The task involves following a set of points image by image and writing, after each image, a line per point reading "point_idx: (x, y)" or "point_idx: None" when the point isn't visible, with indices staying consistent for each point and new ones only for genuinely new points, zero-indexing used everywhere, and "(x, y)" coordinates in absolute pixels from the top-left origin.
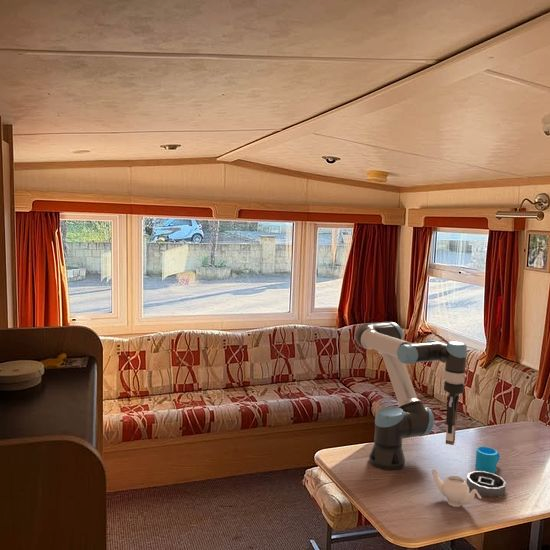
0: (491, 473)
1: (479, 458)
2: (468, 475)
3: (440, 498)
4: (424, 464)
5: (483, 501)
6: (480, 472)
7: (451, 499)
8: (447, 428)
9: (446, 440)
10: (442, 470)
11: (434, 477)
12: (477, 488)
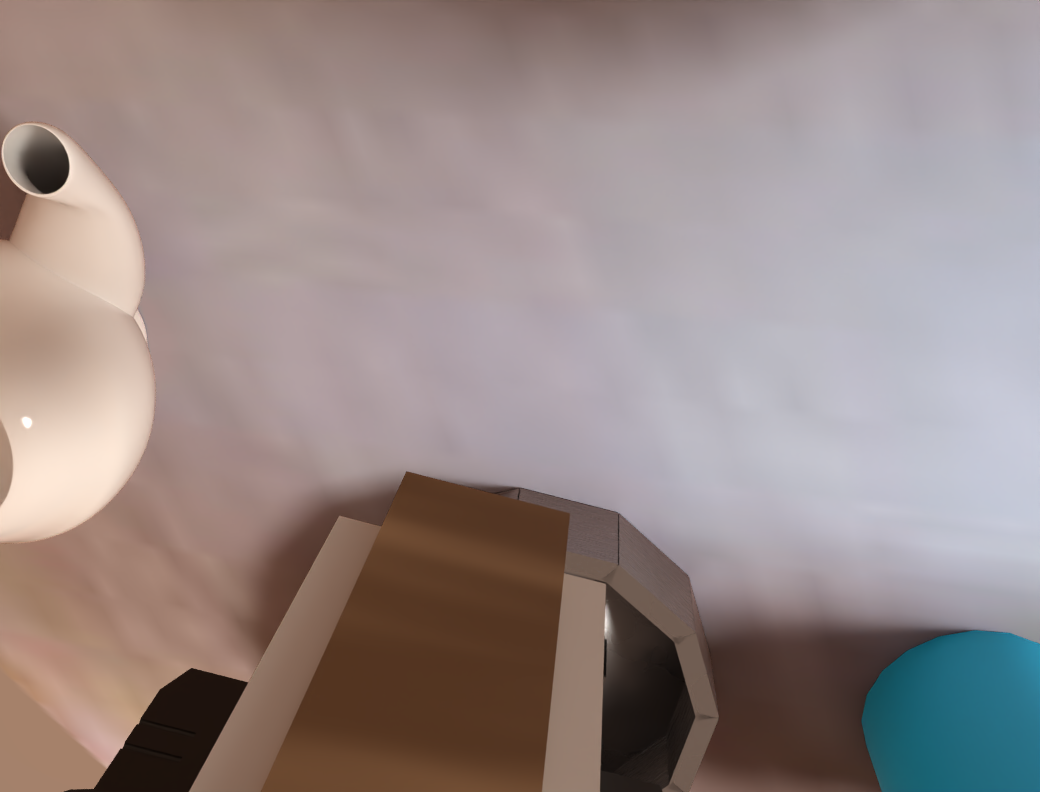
0: (681, 777)
1: (957, 751)
2: None
3: (124, 198)
4: (988, 30)
5: (250, 589)
6: (687, 682)
7: None
8: (221, 746)
9: (385, 522)
10: (840, 267)
11: (23, 154)
12: None
